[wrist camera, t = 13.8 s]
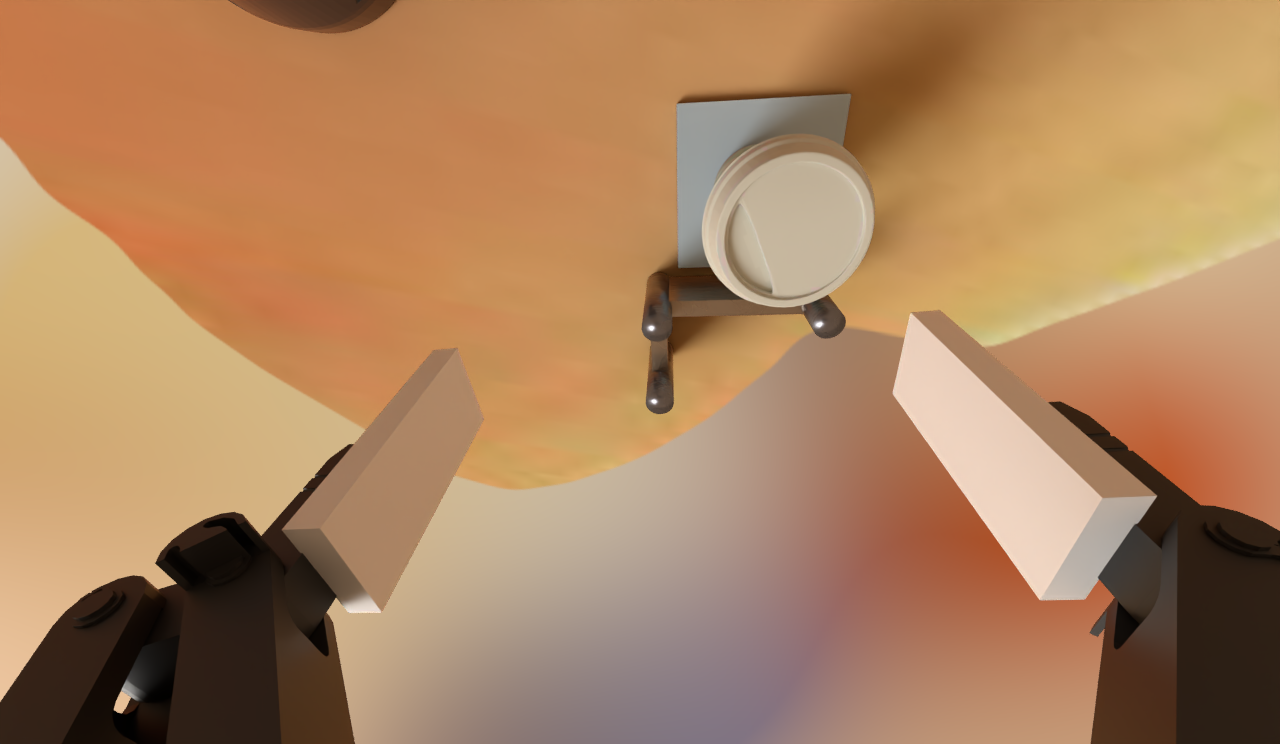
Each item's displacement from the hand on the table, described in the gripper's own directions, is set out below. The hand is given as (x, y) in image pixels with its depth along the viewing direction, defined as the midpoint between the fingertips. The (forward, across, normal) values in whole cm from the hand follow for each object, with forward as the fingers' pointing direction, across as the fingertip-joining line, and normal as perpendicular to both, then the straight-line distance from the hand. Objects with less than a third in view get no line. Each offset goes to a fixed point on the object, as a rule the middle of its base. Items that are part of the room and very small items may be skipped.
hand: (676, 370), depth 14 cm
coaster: (+23, +6, 0) cm, 24 cm away
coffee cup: (+23, +6, 0) cm, 24 cm away
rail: (+23, +4, -10) cm, 25 cm away
